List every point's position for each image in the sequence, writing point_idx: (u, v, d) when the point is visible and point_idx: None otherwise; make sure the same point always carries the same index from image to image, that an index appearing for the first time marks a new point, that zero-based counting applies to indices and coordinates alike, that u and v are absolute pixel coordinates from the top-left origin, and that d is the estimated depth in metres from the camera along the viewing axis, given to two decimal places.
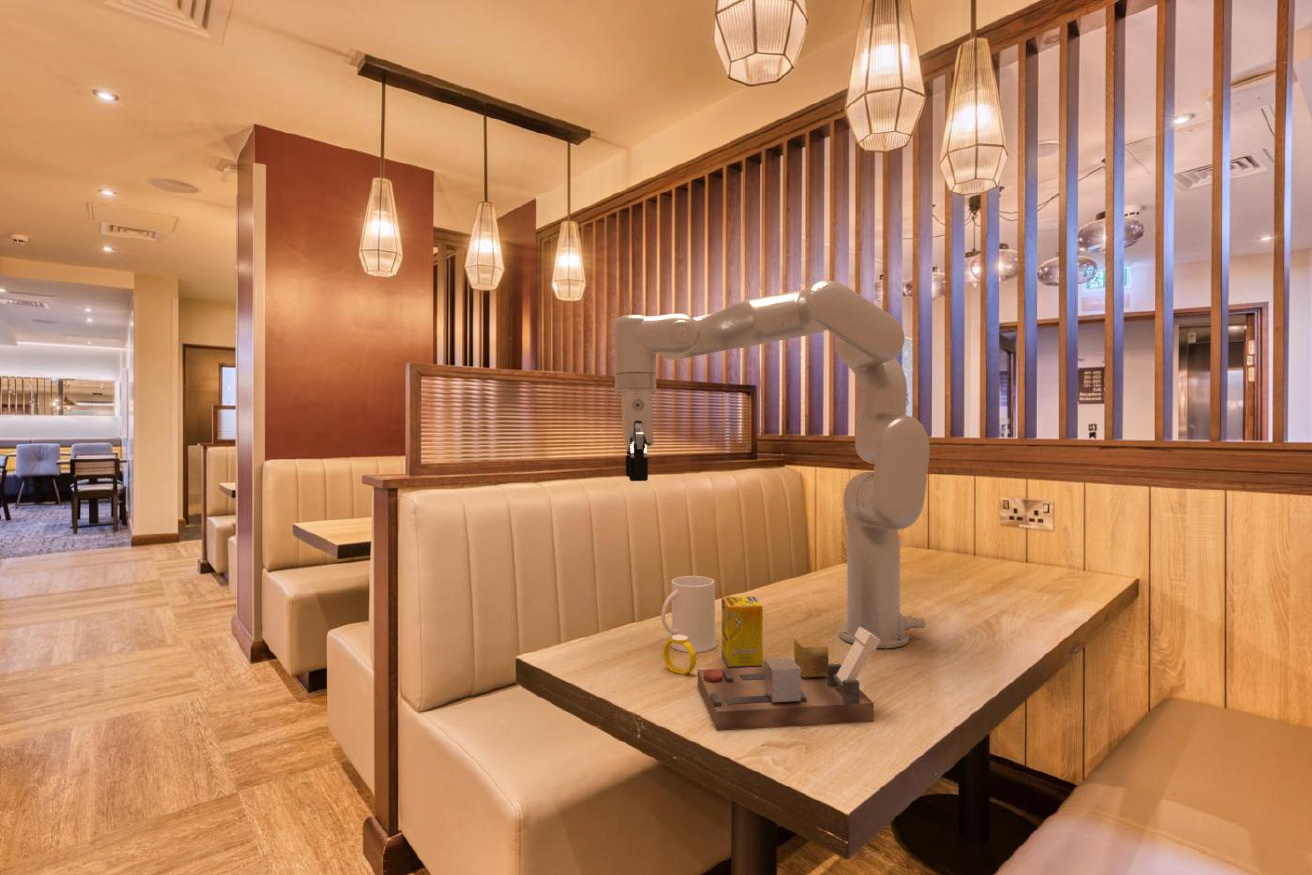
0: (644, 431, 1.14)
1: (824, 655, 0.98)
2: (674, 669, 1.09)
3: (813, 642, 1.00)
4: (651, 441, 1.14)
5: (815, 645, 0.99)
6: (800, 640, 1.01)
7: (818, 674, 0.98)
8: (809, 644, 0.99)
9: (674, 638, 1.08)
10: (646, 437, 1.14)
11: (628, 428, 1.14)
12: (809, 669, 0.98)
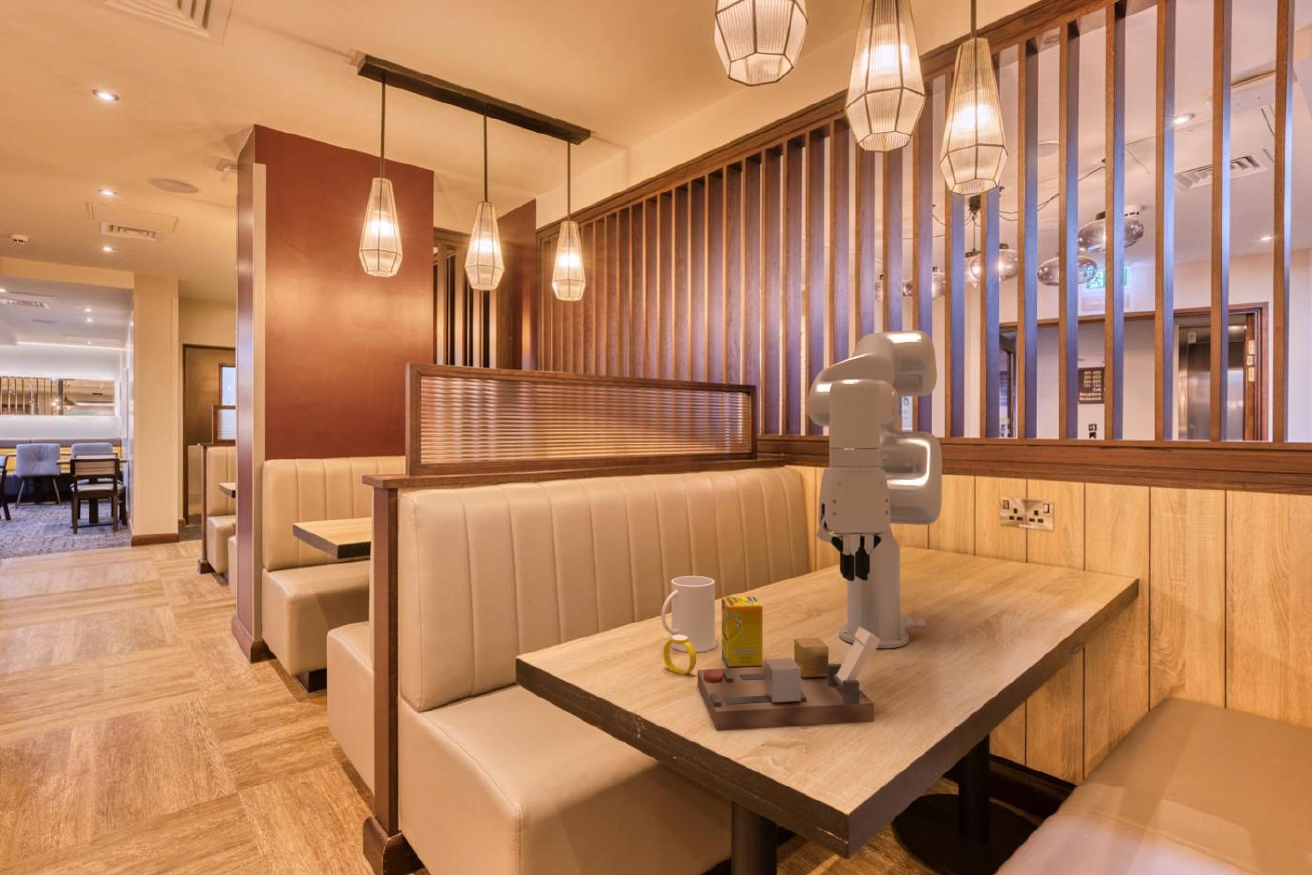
0: None
1: (824, 655, 0.98)
2: (674, 668, 1.09)
3: (813, 642, 1.00)
4: None
5: (815, 645, 0.99)
6: (800, 640, 1.01)
7: (818, 674, 0.98)
8: (809, 644, 0.99)
9: (674, 638, 1.08)
10: None
11: (889, 512, 0.99)
12: (809, 669, 0.98)
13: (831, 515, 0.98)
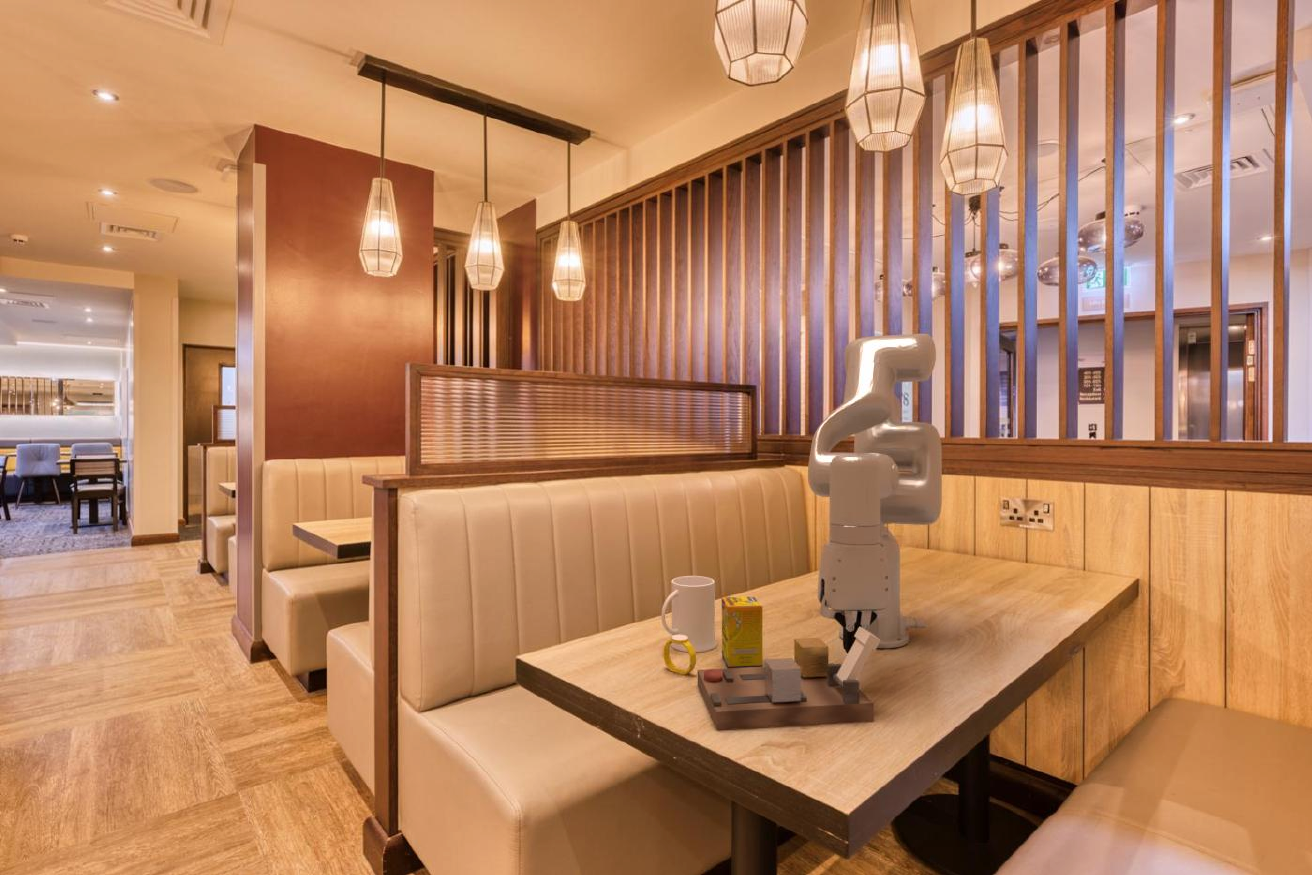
0: None
1: (824, 655, 0.98)
2: (674, 669, 1.09)
3: (813, 642, 1.00)
4: None
5: (815, 645, 0.99)
6: (800, 640, 1.01)
7: (818, 674, 0.98)
8: (809, 644, 0.99)
9: (674, 638, 1.08)
10: None
11: (889, 588, 0.99)
12: (809, 669, 0.98)
13: (831, 592, 0.98)
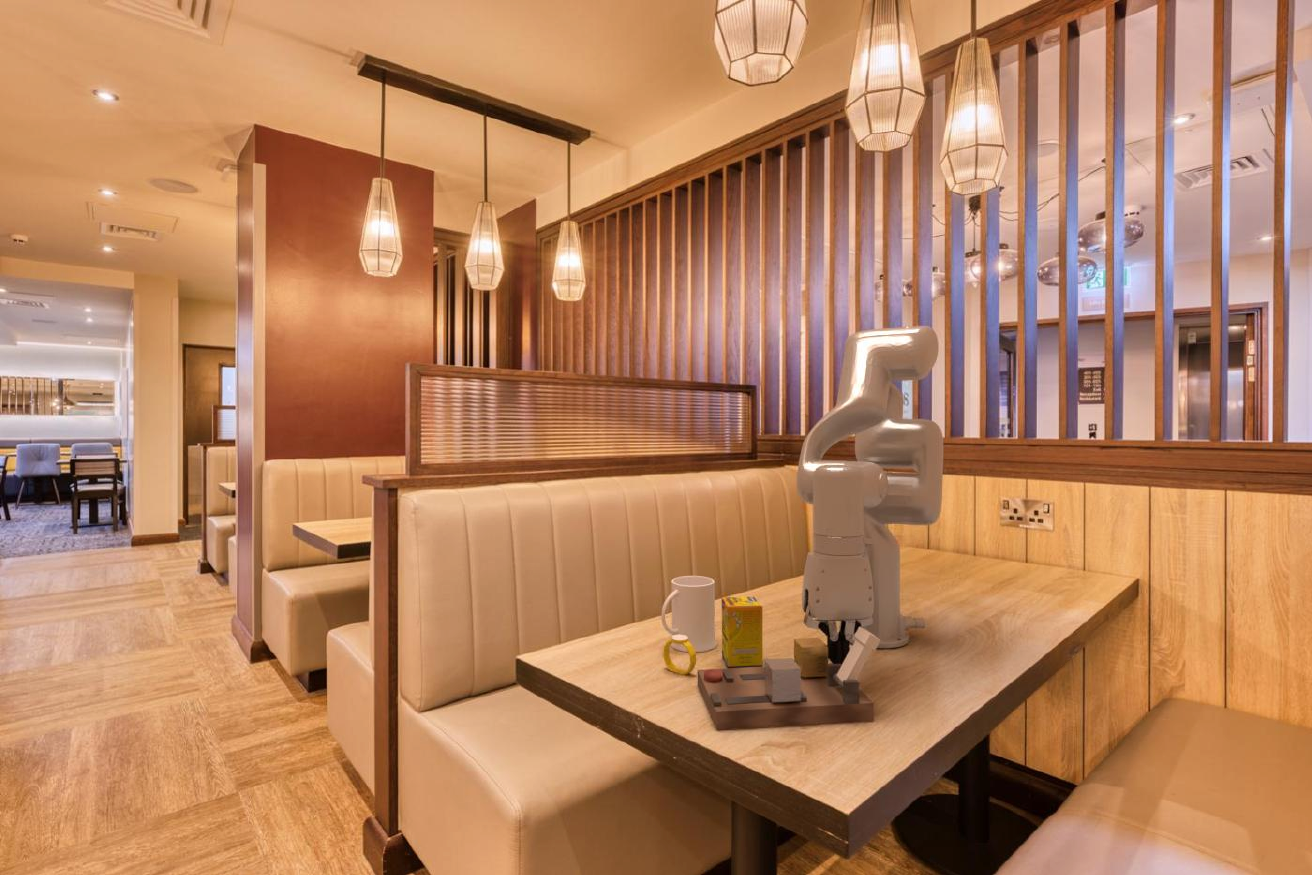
0: None
1: (824, 655, 0.98)
2: (674, 668, 1.09)
3: (812, 642, 1.00)
4: None
5: (815, 645, 0.99)
6: (800, 640, 1.01)
7: (818, 674, 0.98)
8: (808, 644, 0.99)
9: (674, 638, 1.08)
10: None
11: (873, 598, 0.99)
12: (808, 669, 0.98)
13: (814, 602, 0.98)
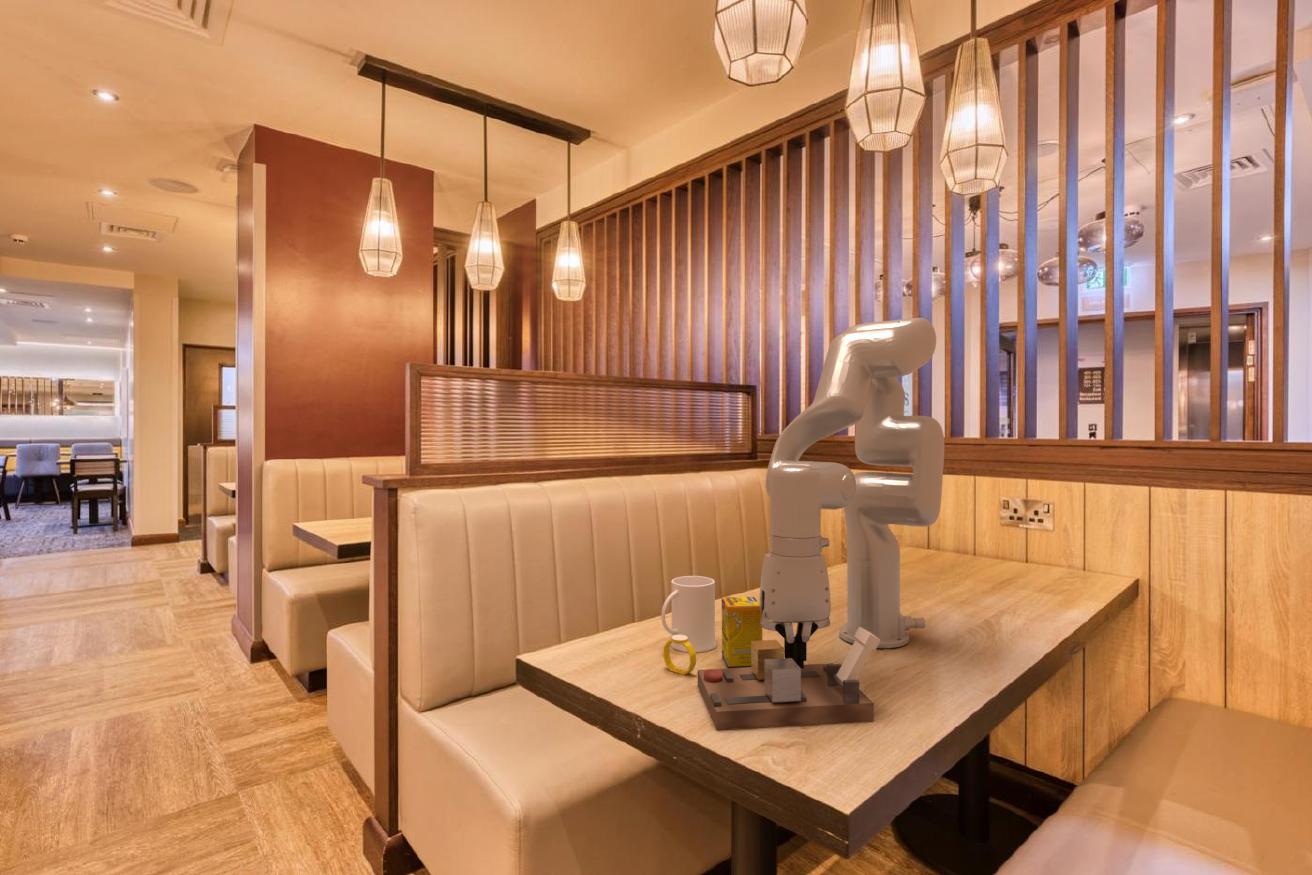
0: None
1: (780, 657, 0.98)
2: (674, 669, 1.09)
3: (769, 644, 1.00)
4: None
5: (771, 647, 0.98)
6: (757, 642, 1.01)
7: None
8: (765, 646, 0.99)
9: (674, 638, 1.08)
10: None
11: None
12: None
13: (770, 604, 0.97)
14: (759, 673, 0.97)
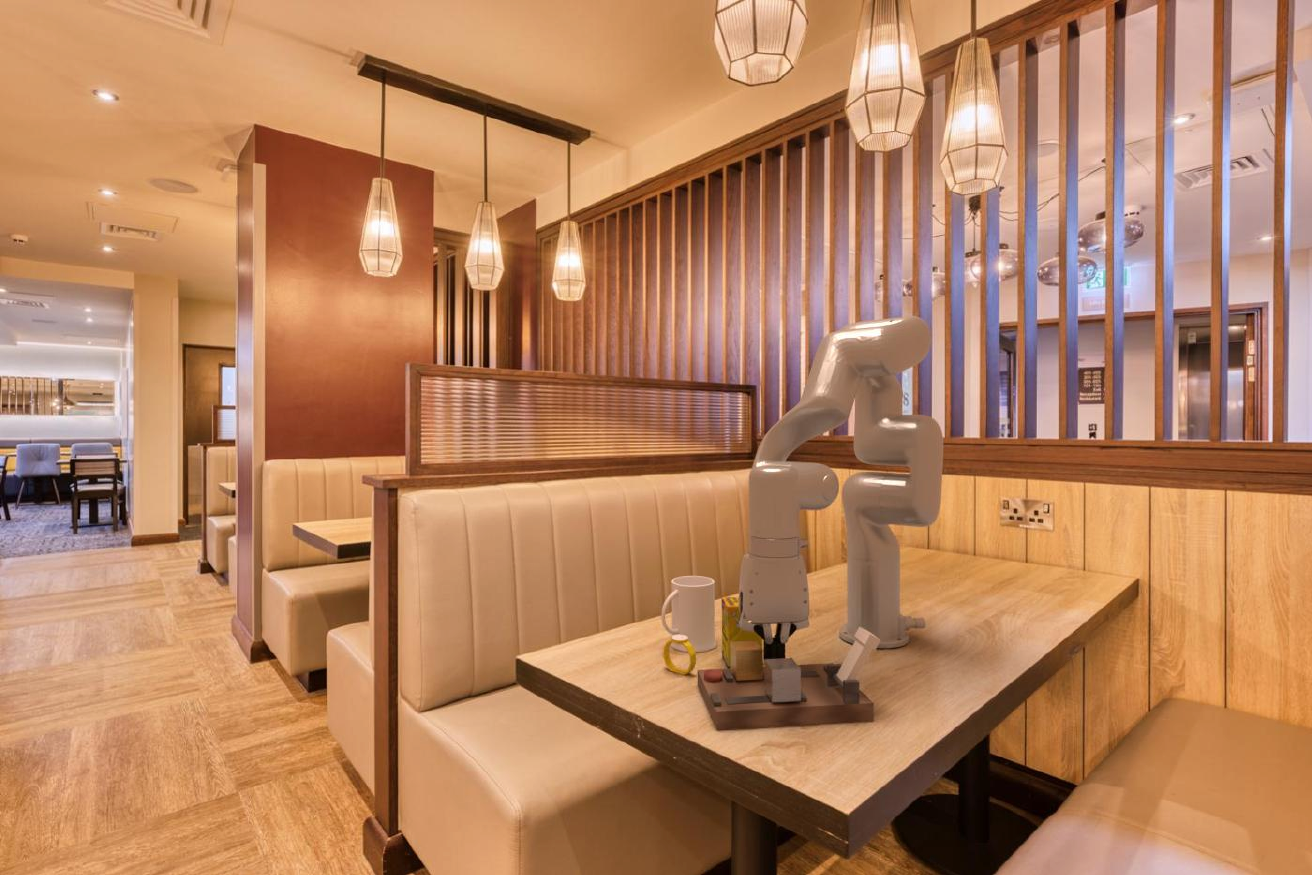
0: None
1: (758, 658, 0.97)
2: (674, 668, 1.09)
3: (748, 645, 0.99)
4: None
5: (749, 648, 0.98)
6: (736, 643, 1.00)
7: (752, 677, 0.97)
8: (743, 647, 0.98)
9: (674, 638, 1.08)
10: None
11: (808, 600, 0.98)
12: (742, 673, 0.97)
13: (748, 605, 0.97)
14: (737, 674, 0.97)
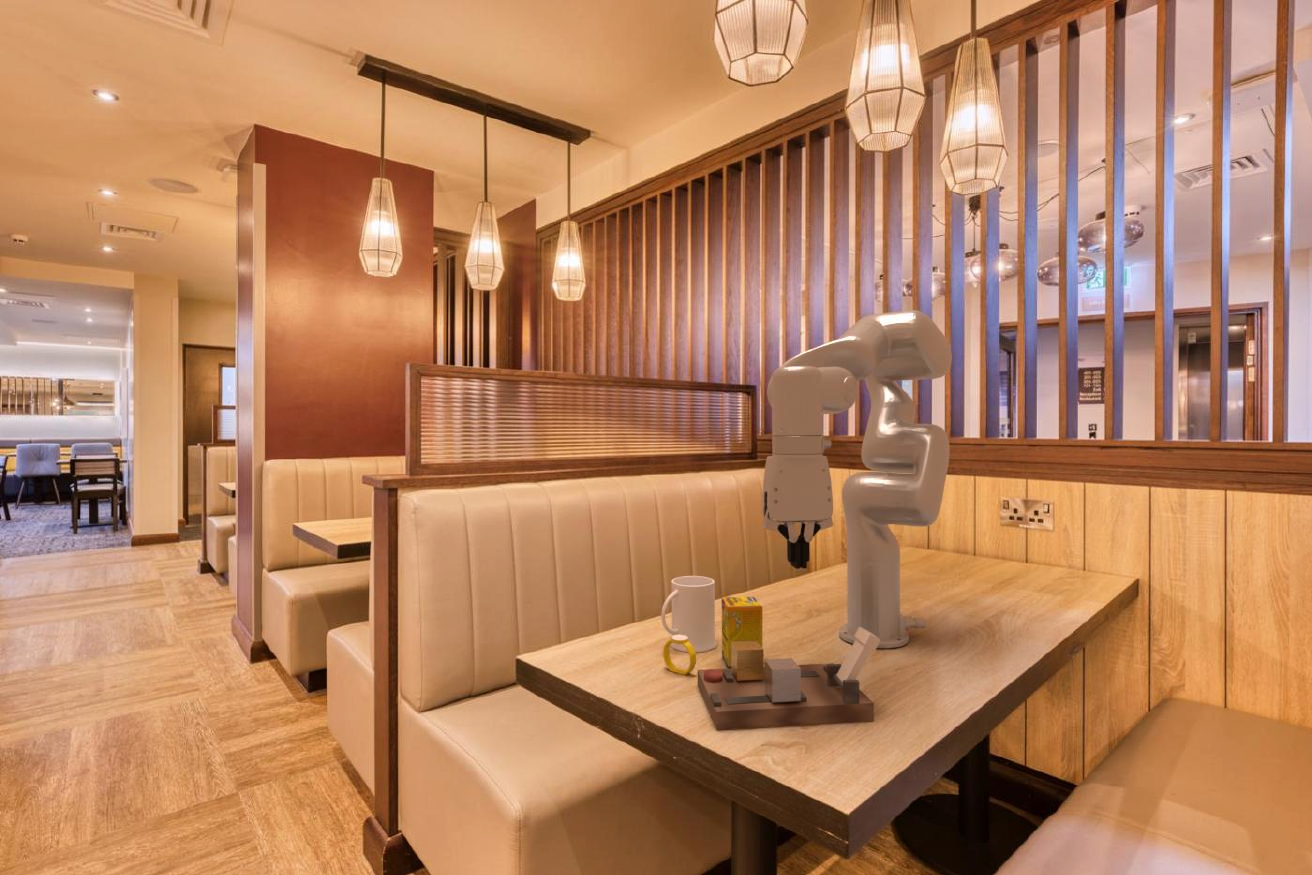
0: None
1: (759, 658, 0.97)
2: (674, 669, 1.09)
3: (749, 645, 0.99)
4: None
5: (750, 648, 0.98)
6: (737, 643, 1.00)
7: (753, 677, 0.97)
8: (744, 647, 0.98)
9: (674, 638, 1.08)
10: None
11: (832, 499, 0.99)
12: (743, 673, 0.97)
13: (773, 503, 0.97)
14: (738, 674, 0.97)
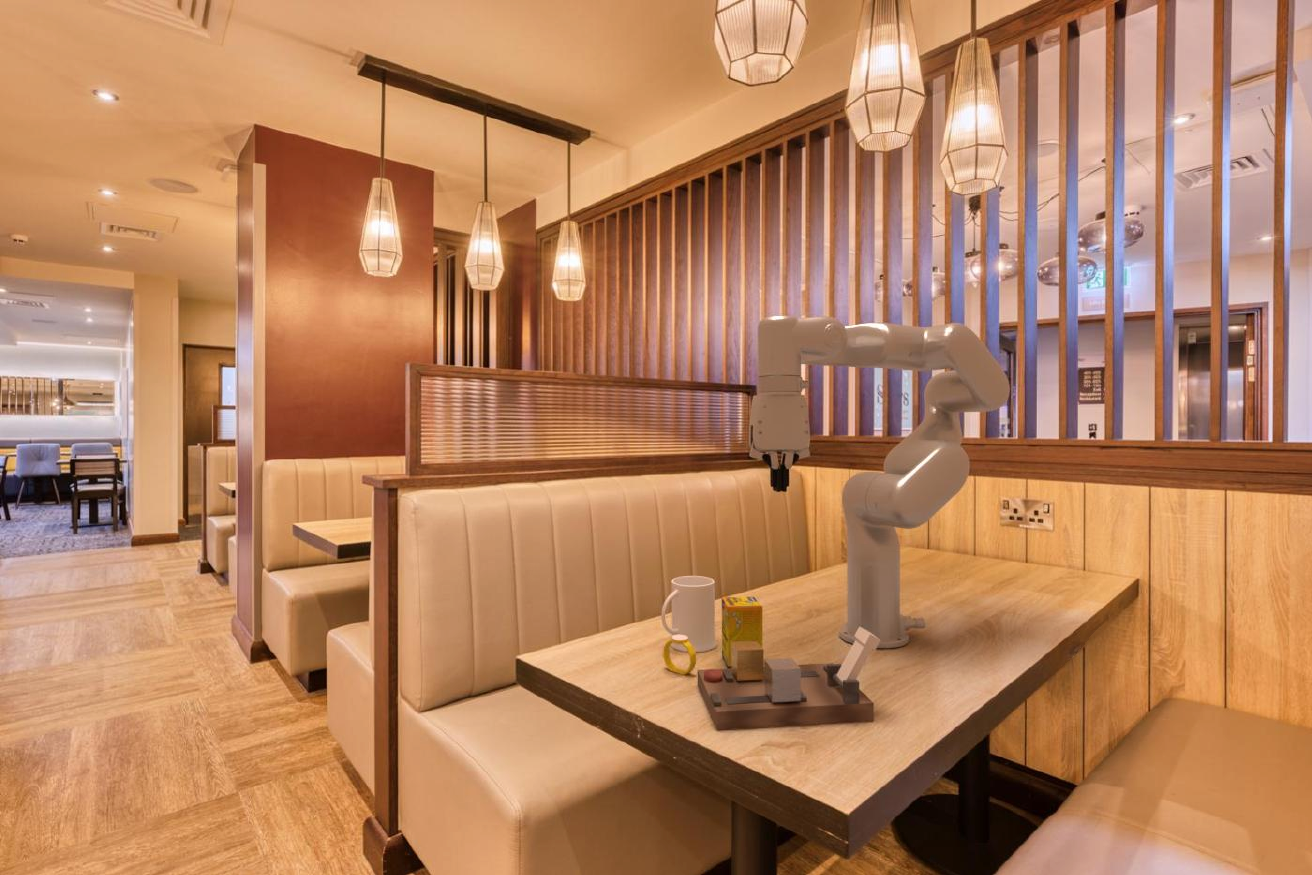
0: None
1: (759, 658, 0.97)
2: (674, 668, 1.09)
3: (749, 645, 0.99)
4: None
5: (750, 648, 0.98)
6: (737, 643, 1.00)
7: (753, 677, 0.97)
8: (744, 647, 0.98)
9: (674, 638, 1.08)
10: None
11: (809, 432, 1.14)
12: (743, 673, 0.97)
13: (757, 434, 1.13)
14: (738, 674, 0.97)
